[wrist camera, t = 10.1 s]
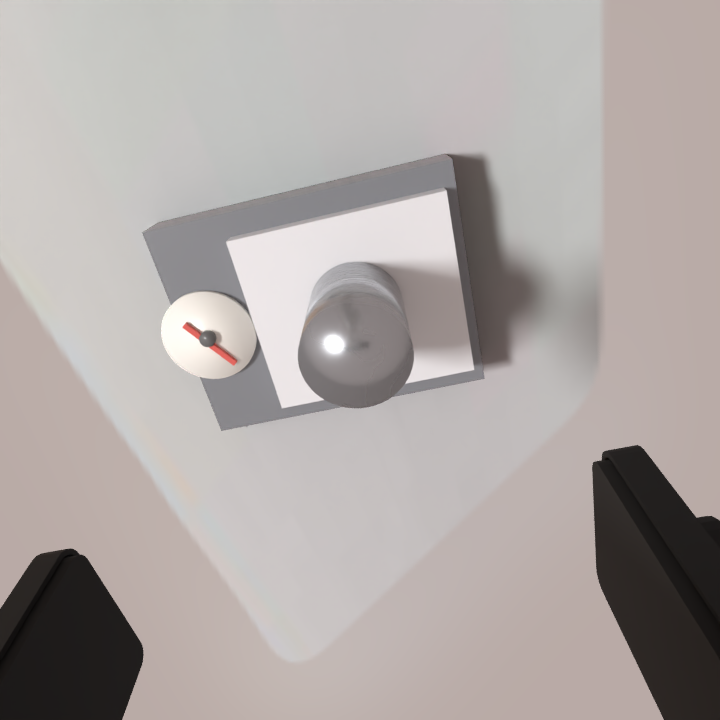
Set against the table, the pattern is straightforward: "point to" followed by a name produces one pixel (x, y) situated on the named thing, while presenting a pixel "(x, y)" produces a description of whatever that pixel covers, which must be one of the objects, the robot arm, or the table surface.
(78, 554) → the robot arm
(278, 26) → the table surface
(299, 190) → the scale
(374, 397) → the cylinder
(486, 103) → the table surface
